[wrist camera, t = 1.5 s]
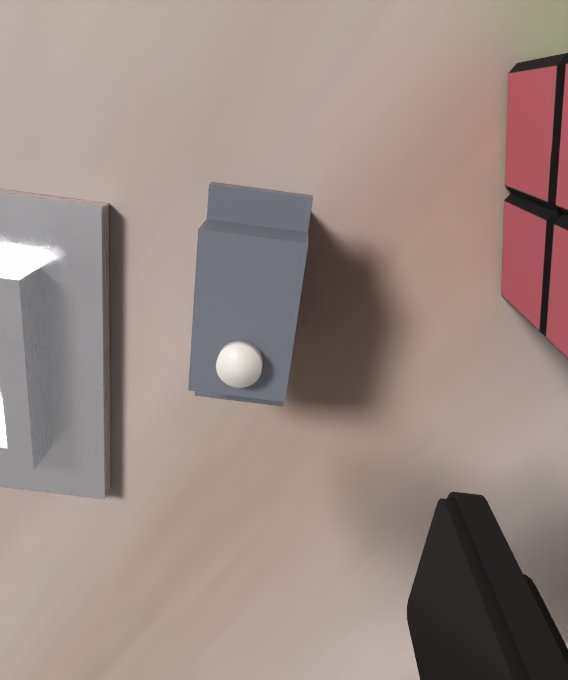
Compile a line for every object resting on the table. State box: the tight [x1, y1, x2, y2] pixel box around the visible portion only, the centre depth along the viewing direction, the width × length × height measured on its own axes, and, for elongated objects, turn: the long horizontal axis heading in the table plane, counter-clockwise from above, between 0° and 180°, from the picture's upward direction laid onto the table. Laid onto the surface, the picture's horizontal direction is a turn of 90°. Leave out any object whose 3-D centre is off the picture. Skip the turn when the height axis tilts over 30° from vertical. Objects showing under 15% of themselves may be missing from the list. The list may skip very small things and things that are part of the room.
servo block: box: [188, 182, 313, 406], centre depth 21 cm, size 8×4×8 cm, turn 173°
